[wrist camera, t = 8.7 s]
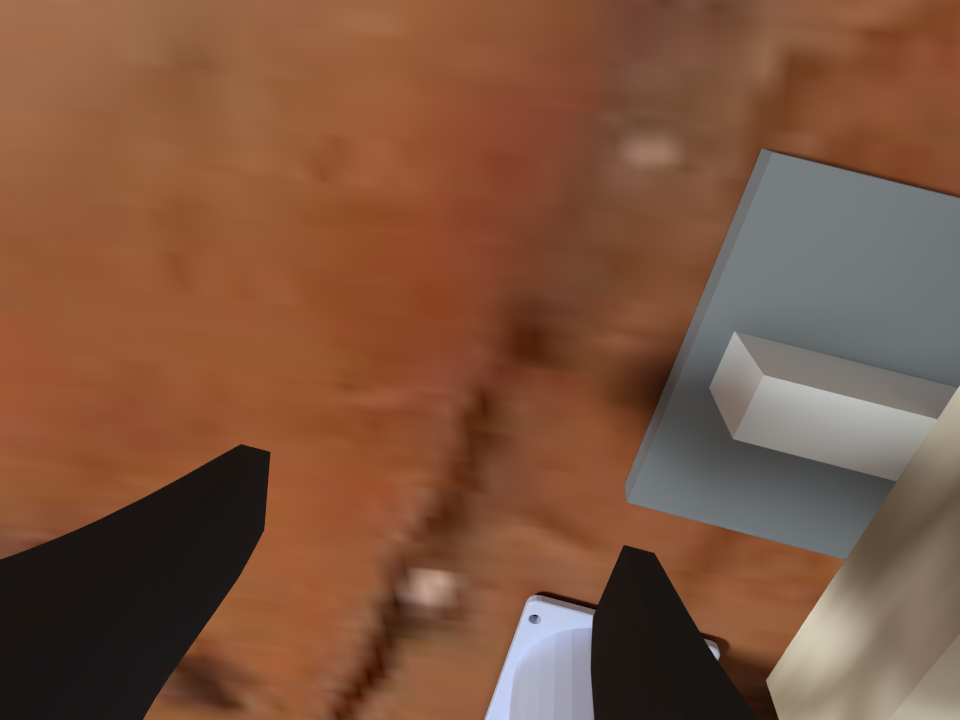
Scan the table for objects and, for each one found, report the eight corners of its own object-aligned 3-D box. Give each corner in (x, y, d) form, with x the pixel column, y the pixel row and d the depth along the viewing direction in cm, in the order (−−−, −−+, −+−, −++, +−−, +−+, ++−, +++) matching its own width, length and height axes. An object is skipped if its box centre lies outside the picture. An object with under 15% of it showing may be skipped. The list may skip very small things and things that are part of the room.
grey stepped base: (1002, 583, 22) (1088, 683, 18) (624, 485, 22) (635, 564, 19) (1262, 272, 17) (1455, 325, 13) (762, 148, 17) (814, 166, 13)
